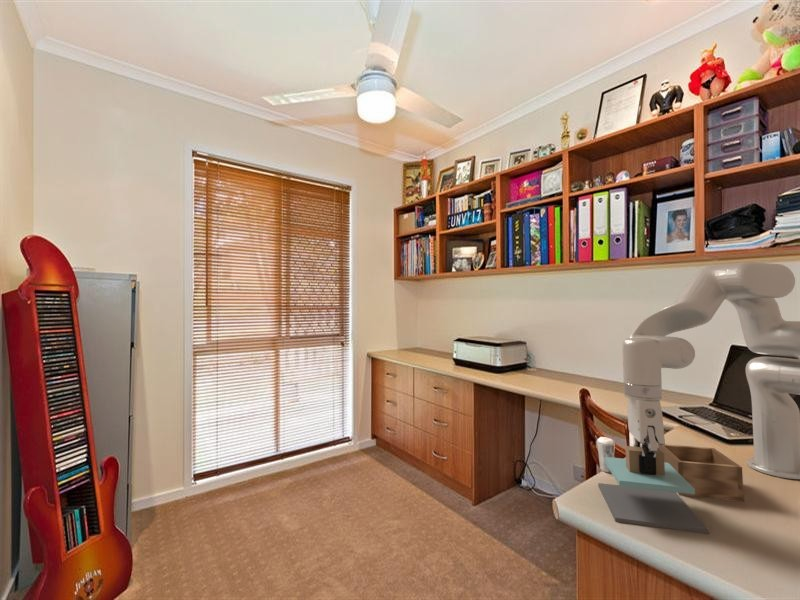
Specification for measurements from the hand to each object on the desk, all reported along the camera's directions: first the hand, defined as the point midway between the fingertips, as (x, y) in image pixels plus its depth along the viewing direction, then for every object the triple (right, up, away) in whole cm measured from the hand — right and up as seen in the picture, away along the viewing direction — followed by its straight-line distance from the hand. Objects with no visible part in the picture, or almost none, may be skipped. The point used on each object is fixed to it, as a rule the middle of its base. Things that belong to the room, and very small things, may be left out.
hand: (645, 469), depth 87 cm
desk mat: (0, -9, 0) cm, 9 cm away
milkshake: (+2, -9, +20) cm, 22 cm away
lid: (0, -2, 0) cm, 2 cm away
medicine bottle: (+19, -9, +27) cm, 34 cm away
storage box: (+20, -9, +9) cm, 24 cm away
